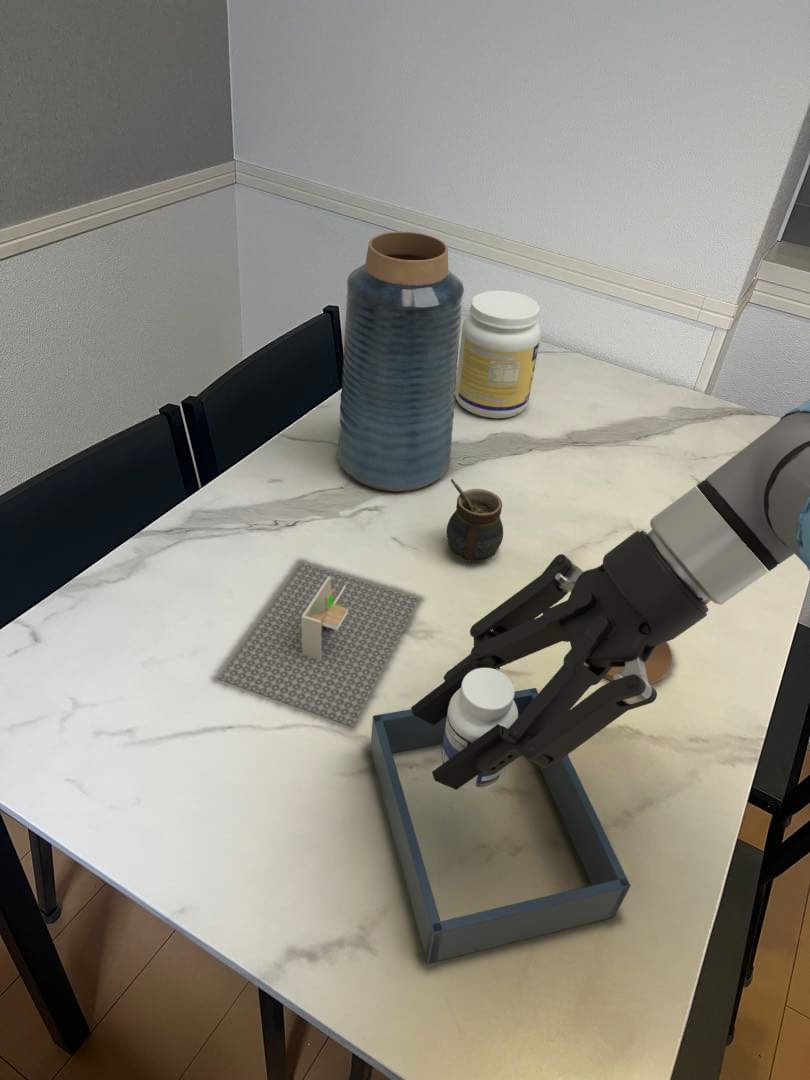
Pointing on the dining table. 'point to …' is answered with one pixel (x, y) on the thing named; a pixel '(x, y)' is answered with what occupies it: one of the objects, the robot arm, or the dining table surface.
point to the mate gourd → (475, 525)
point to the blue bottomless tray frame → (513, 919)
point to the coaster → (652, 664)
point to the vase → (400, 363)
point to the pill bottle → (478, 716)
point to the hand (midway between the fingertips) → (433, 747)
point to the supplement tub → (498, 354)
